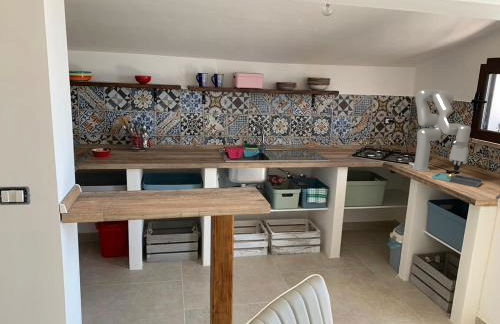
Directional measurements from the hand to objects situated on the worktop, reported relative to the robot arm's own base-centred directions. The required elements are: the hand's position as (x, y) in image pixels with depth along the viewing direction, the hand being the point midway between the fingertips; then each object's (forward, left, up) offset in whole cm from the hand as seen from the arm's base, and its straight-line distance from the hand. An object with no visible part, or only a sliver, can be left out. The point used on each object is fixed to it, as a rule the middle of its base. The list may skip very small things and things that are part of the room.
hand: (456, 170), depth 258 cm
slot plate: (+7, 0, -7) cm, 10 cm away
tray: (-7, 0, -7) cm, 10 cm away
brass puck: (-2, -1, -5) cm, 6 cm away
